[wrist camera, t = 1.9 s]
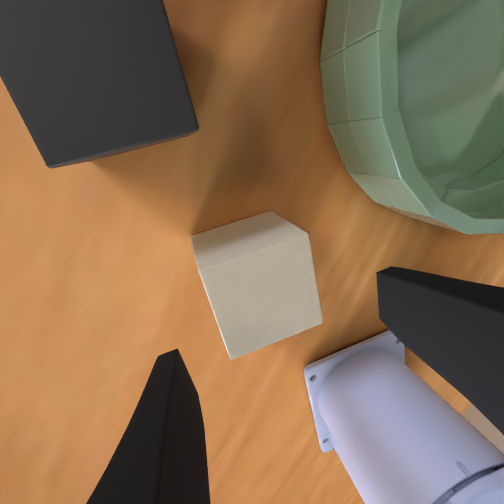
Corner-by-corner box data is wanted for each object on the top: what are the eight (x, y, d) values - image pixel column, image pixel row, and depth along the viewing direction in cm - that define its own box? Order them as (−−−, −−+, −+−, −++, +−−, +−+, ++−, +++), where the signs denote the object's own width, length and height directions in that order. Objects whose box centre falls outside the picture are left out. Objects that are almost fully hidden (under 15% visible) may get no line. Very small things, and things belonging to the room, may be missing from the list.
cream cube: (286, 281, 17) (324, 323, 13) (214, 307, 16) (230, 361, 12) (271, 209, 15) (309, 233, 11) (189, 235, 14) (198, 271, 10)
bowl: (544, 173, 20) (642, 181, 16) (335, 248, 17) (388, 280, 13) (610, -182, 13) (809, -329, 9) (285, -153, 10) (360, -343, 6)
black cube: (189, 135, 13) (200, 130, 9) (87, 161, 12) (47, 169, 8) (152, 13, 11) (144, -65, 7) (29, 35, 10) (-60, -37, 6)
